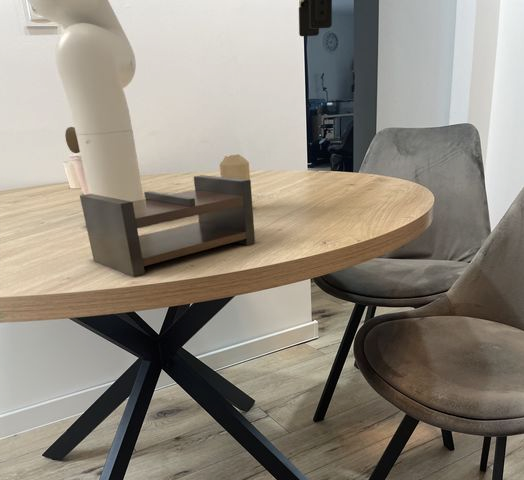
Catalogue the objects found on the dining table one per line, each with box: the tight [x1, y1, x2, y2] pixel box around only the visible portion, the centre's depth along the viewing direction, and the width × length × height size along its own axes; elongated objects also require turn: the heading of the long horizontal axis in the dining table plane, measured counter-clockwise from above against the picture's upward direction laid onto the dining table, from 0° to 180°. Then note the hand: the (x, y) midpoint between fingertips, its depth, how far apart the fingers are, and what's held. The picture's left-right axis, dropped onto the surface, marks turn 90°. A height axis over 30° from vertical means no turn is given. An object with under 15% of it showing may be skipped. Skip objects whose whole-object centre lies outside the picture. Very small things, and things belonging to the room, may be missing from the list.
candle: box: [219, 154, 251, 180], centre depth 98 cm, size 6×6×10 cm
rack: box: [79, 174, 256, 278], centre depth 72 cm, size 12×20×9 cm, turn 131°
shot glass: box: [62, 160, 82, 189], centre depth 145 cm, size 7×7×7 cm
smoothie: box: [69, 152, 89, 195], centre depth 130 cm, size 6×6×14 cm
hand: (314, 32), depth 80 cm, fingers open, 9 cm apart
